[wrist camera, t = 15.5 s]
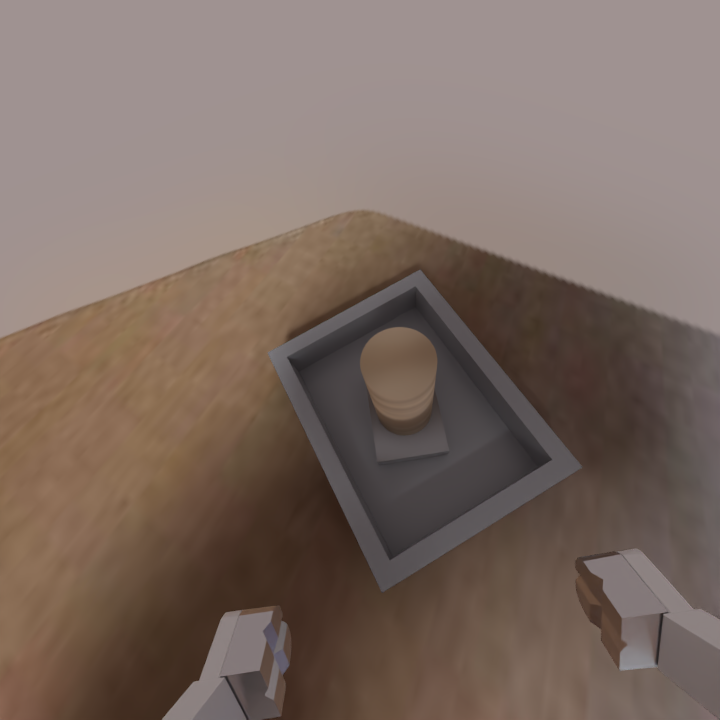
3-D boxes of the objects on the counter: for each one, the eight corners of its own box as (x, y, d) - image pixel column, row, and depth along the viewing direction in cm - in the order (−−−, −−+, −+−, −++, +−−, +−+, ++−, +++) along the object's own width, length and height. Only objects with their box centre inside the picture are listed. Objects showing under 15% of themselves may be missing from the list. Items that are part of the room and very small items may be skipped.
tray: (559, 475, 25) (582, 467, 22) (387, 582, 24) (382, 592, 21) (420, 297, 33) (420, 269, 29) (284, 372, 32) (267, 352, 28)
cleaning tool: (447, 454, 26) (463, 417, 17) (379, 465, 26) (359, 434, 17) (427, 367, 29) (431, 296, 20) (366, 378, 29) (343, 313, 20)
